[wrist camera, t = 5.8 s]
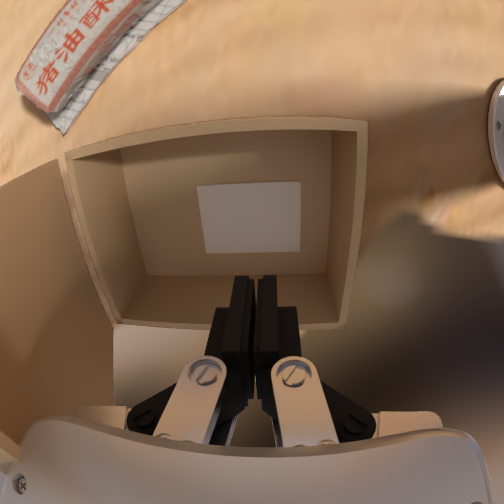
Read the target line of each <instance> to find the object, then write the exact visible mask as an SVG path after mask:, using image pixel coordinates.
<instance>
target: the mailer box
mask: <svg viewBox="0 0 504 504" xmlns="http://www.w3.org/2000/svg"><path fill="white" fill-rule="evenodd" d="M367 152H368V121H362V120H355V119H347V118H339V117H315V116H276V117H251V118H236V119H224V120H214V121H205V122H197V123H189V124H182V125H175V126H169V127H163V128H157V129H152V130H147V131H141V132H137V133H132V134H127V135H123V136H119V137H114V138H111V139H107V140H104V141H100V142H97V143H93V144H90V145H87V146H84V147H81V148H78V149H75V150H72V151H69V152H66V153H65V159H66V165H67V170H68V175H69V180H70V184H71V189H72V193H73V197H74V201H75V205H76V209H77V213H78V216H79V220H80V224H81V227H82V230H83V234H84V237H85V240H86V243H87V246H88V250H89V253H90V256H91V258H92V261H93V264H94V267H95V270H96V272H97V275H98V278H99V280H100V283H101V286H102V288H103V291H104V293H105V296H106V298H107V300H108V303H109V305H110V307H111V310H112V312H113V314H114V317H115V319H116V321H117V323H119V324H128V325H138V326H150V327H162V328H163V327H164V328H177V329H196V330H210V329H211V325H212V321H213V317H214V313H215V309H216V308H217V307H229V304H230V299H231V294H232V289H233V284H234V278H235V276H243V275H249V279H254V283H255V297H256V301H257V287H258V279H263V275H277V303H278V307H285V306H296V307H297V315H298V325H299V330H316V329H336V328H345V326H346V322H347V317H348V312H349V307H350V301H351V296H352V291H353V285H354V280H355V274H356V267H357V261H358V254H359V247H360V239H361V231H362V222H363V212H364V201H365V189H366V174H367Z"/></svg>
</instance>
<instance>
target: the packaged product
mask: <svg viewBox="0 0 504 504" xmlns="http://www.w3.org/2000/svg"><path fill="white" fill-rule="evenodd" d="M186 1H187V0H68V1H67V2H66V3H65V4H64V6H63V7H62V8H61V9H60V10H59V11H58V13H57V14H56V15H55V17H54V18H53V20H52V21H51V22H50V23H49V25H48V26H47V28H46V29H45V31H44V32H43V34H42V35H41V37H40V38H39V39H38V41H37V42H36V44H35V46H34V47H33V48H32V50H31V52H30V53H29V55H28V57H27V59H26V60H25V61H24V63H23V65H22V66H21V68H20V70H19V72H18V73H17V76H16V78H15V84H16V87H17V90H18V92H20V93H21V94H22V95H23V96H25V97H27V98H28V100H29V101H31V102H33V103H34V105H36V107H37V108H39V109H40V110H43V111H44V112H45V113H46V115H47V116H48V117H49V119H50V120H51V121H52V122H53V123H54V125H55V126H56V127H57V128H59V129H60V130H61V132H62V133H63V134H65V133H68V131H69V130H70V128H71V127H72V125H73V124H74V123H75V121H76V120H77V118H78V117H79V115H80V114H81V112H82V111H83V109H84V108H85V106H86V105H87V103H88V102H89V100H90V99H91V98H92V96H93V95H94V94H95V92H96V91H97V90H98V88H99V87H100V86H101V85H102V83H103V82H104V81H105V80H106V79H107V78H108V76H109V75H110V74H111V73H112V72H113V71H114V70H115V68H116V67H117V66H118V65H119V64H120V63H121V62H122V61H123V60H124V59H125V58H126V57H127V56H128V55H129V54H130V53H131V52H132V51H133V50H134V49H135V48H136V47H137V46H138V45H139V44H140V42H142V41H143V40H144V39H145V38H146V37H147V35H148V34H149V33H150V32H151V31H152V30H153V29H154V28H155V27H156V26H157V25H158V24H159V23H161V22H162V21H163V20H164V19H165V18H167V17H168V16H169V15H170V14H171V13H173V12H174V11H175V10H176V9H177V8H179V7H180V6H181V5H182V4H184V3H185V2H186Z"/></svg>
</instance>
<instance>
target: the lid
mask: <svg viewBox="0 0 504 504" xmlns="http://www.w3.org/2000/svg"><path fill="white" fill-rule="evenodd" d="M113 330H114V329H113V327H112V325H111V322H110V320H109V318H108V316H107V314H106V312H105V309H104V307H103V305H102V303H101V300H100V298H99V296H98V293H97V291H96V288H95V286H94V283H93V281H92V278H91V276H90V273H89V270H88V268H87V265H86V262H85V259H84V257H83V254H82V251H81V248H80V245H79V242H78V239H77V235H76V232H75V229H74V226H73V222H72V219H71V215H70V211H69V208H68V204H67V200H66V196H65V192H64V187H63V183H62V178H61V174H60V169H59V163H58V159H55V160H52V161H50V162H48V163H46V164H44V165H41V166H39V167H37V168H35V169H33V170H31V171H29V172H27V173H25V174H23V175H21V176H19V177H17V178H15V179H13V180H12V181H10V182H8V183H6V184H4V185H3V186H1V187H0V471H2V472H3V473H5V474H7V473H8V470H9V467H10V464H11V463H12V462H14V461H17V462H20V446H19V443H20V441H21V439H22V437H23V435H24V434H25V432H26V430H27V429H28V428H29V426H30V425H31V424H32V423H33V422H34V421H36V420H37V419H39V418H42V417H47V416H55V415H65V416H71V415H72V413H73V411H74V410H75V409H76V408H78V407H80V406H84V405H90V406H115V400H114V380H113Z"/></svg>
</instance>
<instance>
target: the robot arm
mask: <svg viewBox="0 0 504 504" xmlns="http://www.w3.org/2000/svg"><path fill="white" fill-rule="evenodd" d="M488 138H489V145H490V151H491V155H492V160H493V163H494V166H495V168H496V171H497V173H498V175H499V177H500V179H501V180H502V181H503V182H504V80H503V81H501V82H500V83H499V85H498V86H497V87H496V89H495V91H494V93H493V95H492V99H491V102H490V107H489V113H488ZM255 377H256V387H257V397H258V399H262V409H263V410H264V411H265V412H266V413H267V414H269V415H270V416H271V417H272V423H273V429H274V435H275V441H276V447H277V448H257V447H254V448H253V447H233V446H229V443H230V440H231V437H232V433H233V430H234V427H235V423H236V420H237V414H238V413H240V412H241V411H243V410H244V409H245V406H248V399H253V398H254V384H255ZM19 446H20V462H17V461H14V462H12V463H11V464H10V467H9V470H8V473H7V476H6V479H5V482H4V486H3V490H2V493H1V496H0V504H495V501H494V495H493V488H492V484H491V480H490V476H489V472H488V468H487V465H486V462H485V459H484V457H483V454H482V452H481V450H480V448H479V446H478V445H477V443H476V441H475V440H474V439H473V438H472V437H471V436H470V435H469V434H467V433H465V432H462V431H458V430H454V429H446V428H442V422H441V419H440V418H439V417H438V415H436V414H435V413H433V412H428V411H422V412H380V413H379V414H371V413H370V412H369V411H368V410H366V409H365V408H363V407H361V406H360V405H358V404H356V403H355V402H353V401H352V400H350V399H348V398H347V397H345V396H344V395H342V394H340V393H339V392H337V391H336V390H334V389H333V388H331V387H329V386H327V385H326V384H325V383H323V382H322V381H320V380H319V377H318V373H317V370H316V368H315V367H314V365H313V364H312V363H311V362H310V361H309V360H307V359H305V358H302V356H301V345H300V335H299V325H298V315H297V307H296V306H285V307H278V303H277V275H263V279H258V287H257V301H256V297H255V283H254V279H249V275H243V276H235V278H234V284H233V289H232V294H231V299H230V304H229V307H217V308H216V309H215V313H214V317H213V321H212V325H211V329H210V333H209V338H208V342H207V346H206V350H205V354H204V356H201V357H197V358H195V359H193V360H191V361H190V362H189V363H188V364H187V365H186V367H185V368H184V370H183V372H182V374H181V376H180V378H179V380H178V382H177V383H175V384H173V385H172V386H170V387H168V388H167V389H165V390H163V391H161V392H159V393H158V394H156V395H154V396H153V397H151V398H149V399H147V400H145V401H143V402H141V403H140V404H138V405H136V406H135V407H133V408H132V409H128V408H127V407H126V406H90V405H84V406H80V407H78V408H76V409H75V410H74V411H73V413H72V415H71V416H65V415H55V416H47V417H42V418H39V419H37V420H36V421H34V422H33V423H32V424H31V425H30V426H29V428H28V429H27V430H26V432H25V434H24V435H23V437H22V439H21V441H20V443H19Z"/></svg>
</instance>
